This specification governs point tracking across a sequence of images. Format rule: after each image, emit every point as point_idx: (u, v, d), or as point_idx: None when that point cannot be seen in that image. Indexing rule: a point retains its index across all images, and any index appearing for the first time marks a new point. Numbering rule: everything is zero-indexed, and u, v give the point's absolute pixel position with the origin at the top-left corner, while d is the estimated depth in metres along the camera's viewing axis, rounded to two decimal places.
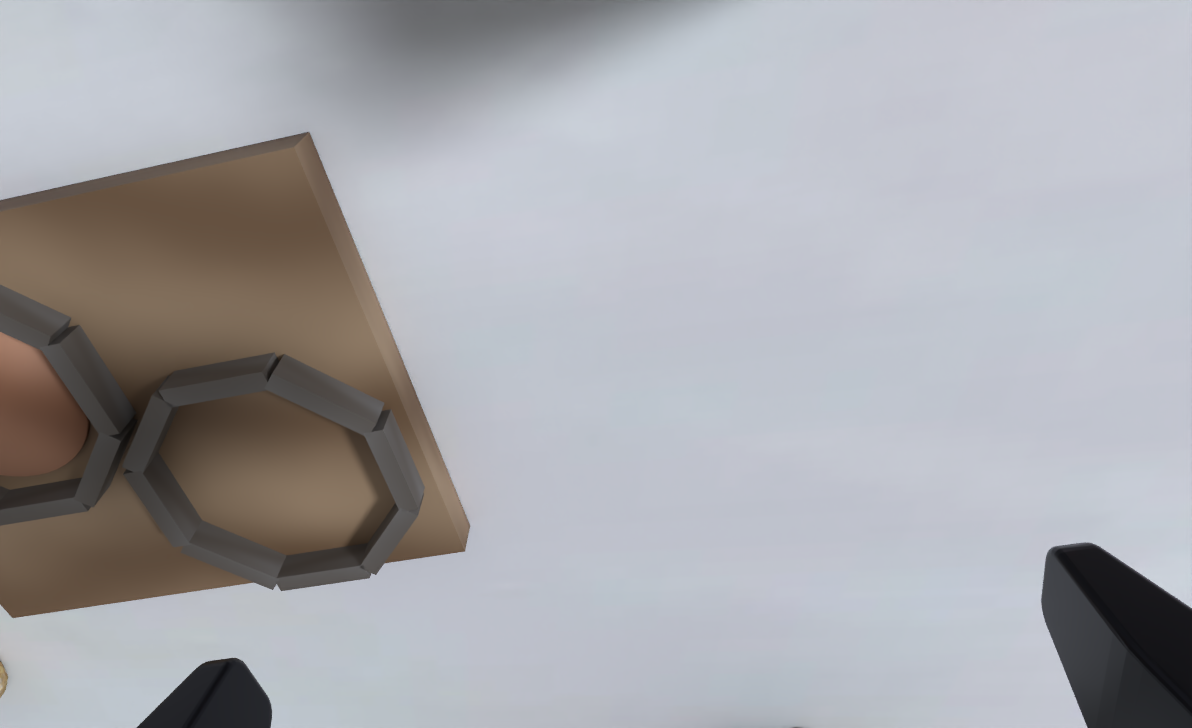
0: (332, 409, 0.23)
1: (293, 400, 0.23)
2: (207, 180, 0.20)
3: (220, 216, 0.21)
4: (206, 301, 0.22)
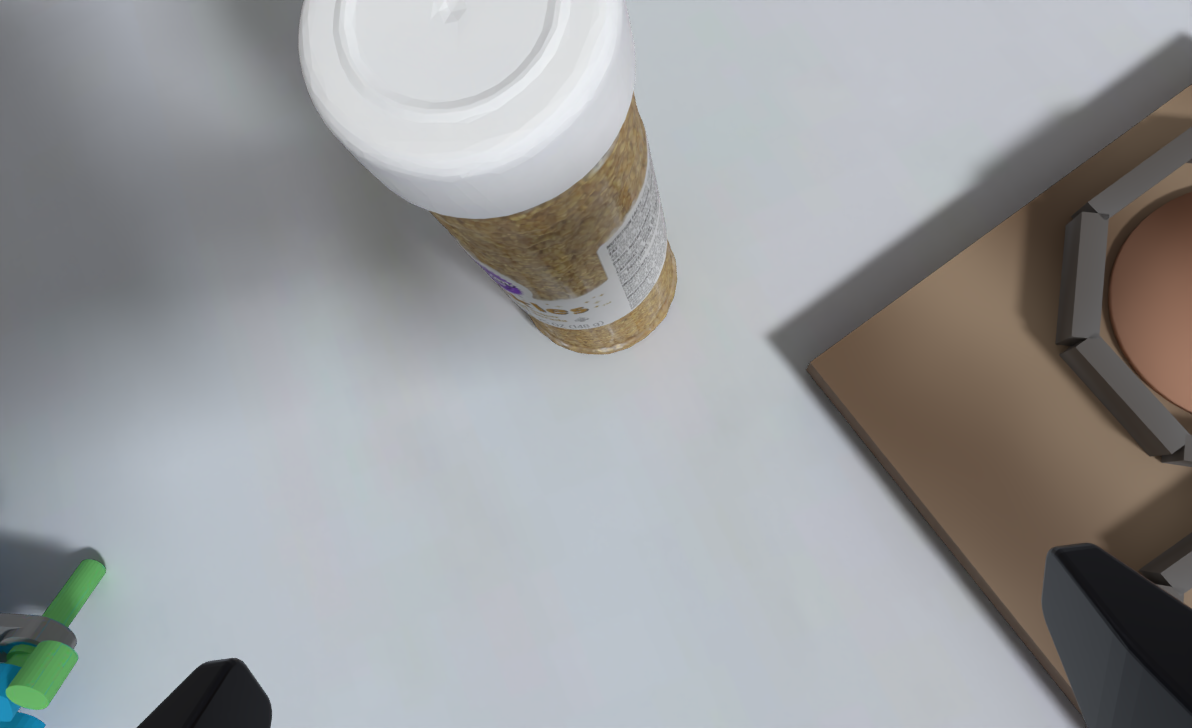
0: None
1: None
2: None
3: None
4: None
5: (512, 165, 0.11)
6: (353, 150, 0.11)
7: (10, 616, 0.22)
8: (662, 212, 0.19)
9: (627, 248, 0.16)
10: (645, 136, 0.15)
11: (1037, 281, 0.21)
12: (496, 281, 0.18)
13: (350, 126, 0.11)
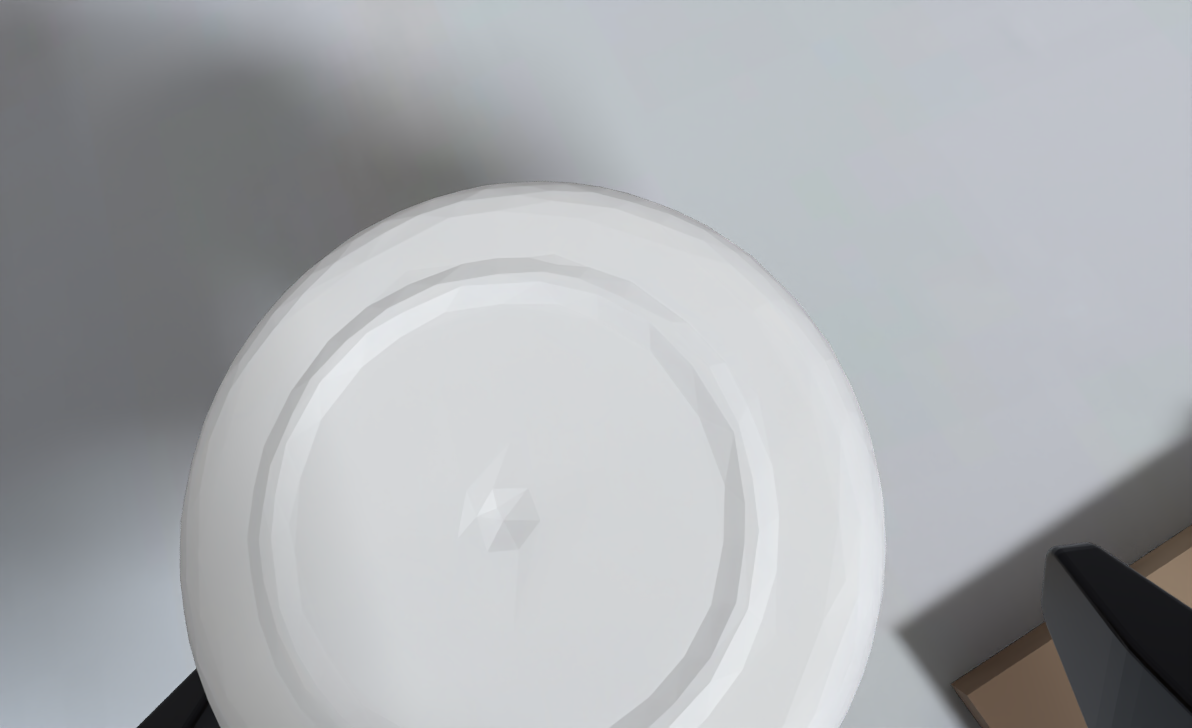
0: None
1: None
2: None
3: None
4: None
5: None
6: None
7: None
8: None
9: None
10: None
11: None
12: None
13: None
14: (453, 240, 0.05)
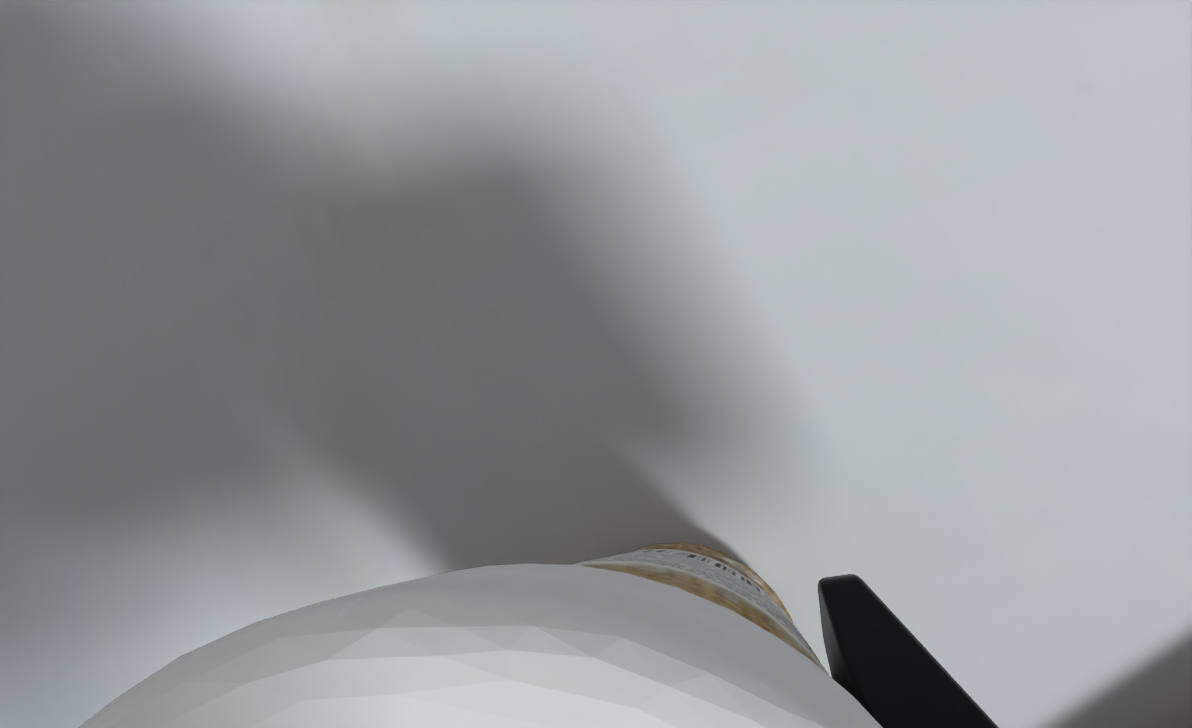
0: None
1: None
2: None
3: None
4: None
5: None
6: None
7: None
8: None
9: None
10: None
11: None
12: None
13: None
14: None
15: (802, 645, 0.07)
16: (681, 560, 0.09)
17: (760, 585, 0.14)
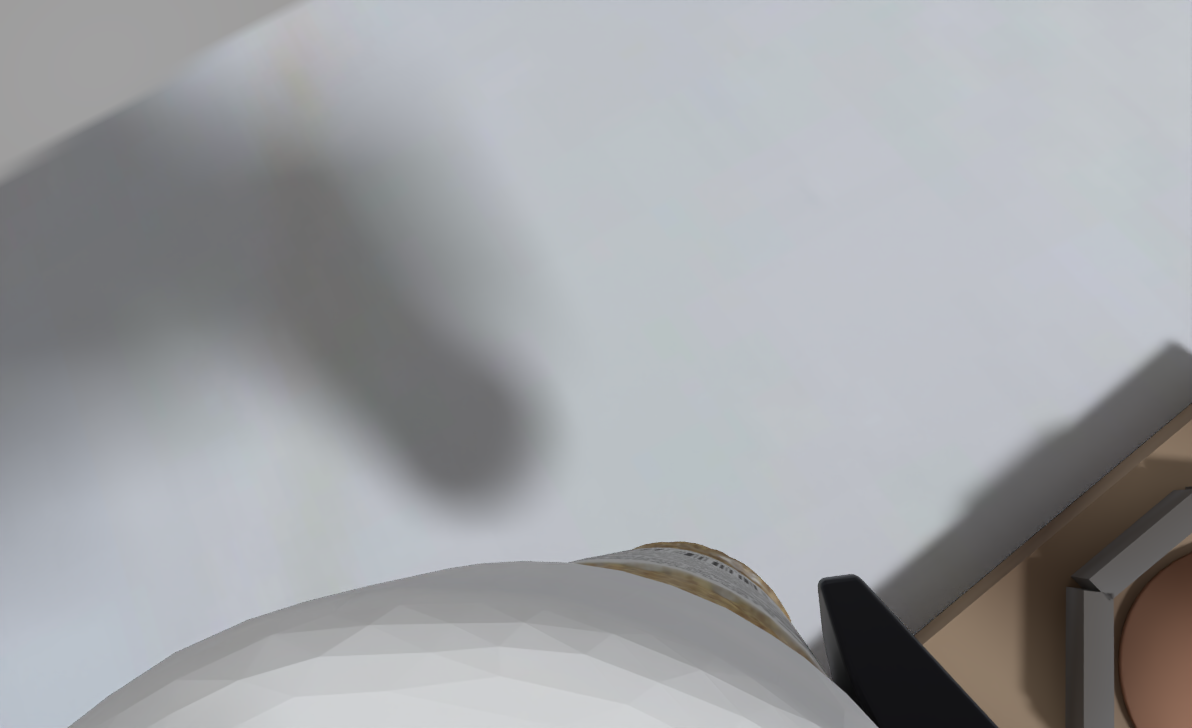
0: None
1: None
2: None
3: None
4: None
5: None
6: None
7: None
8: None
9: None
10: None
11: (1040, 652, 0.19)
12: None
13: None
14: None
15: (798, 643, 0.07)
16: (678, 558, 0.09)
17: (758, 583, 0.14)
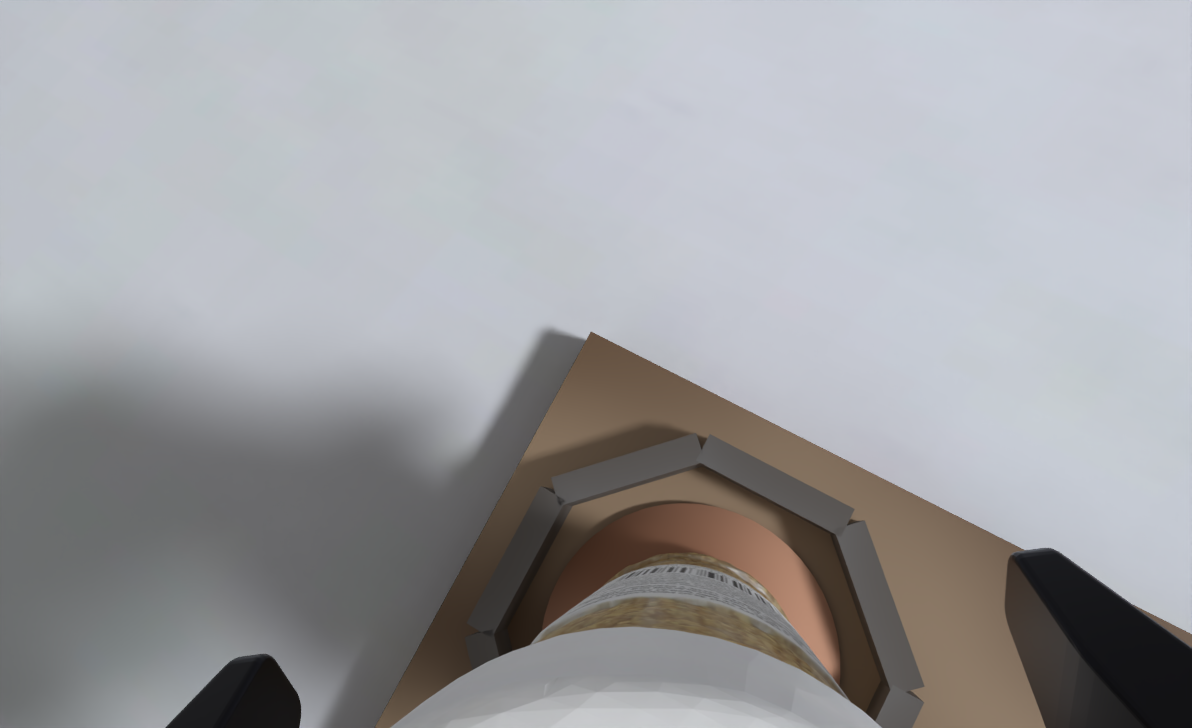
0: None
1: None
2: None
3: None
4: None
5: None
6: None
7: None
8: None
9: None
10: None
11: None
12: None
13: None
14: None
15: (825, 670, 0.08)
16: (709, 585, 0.10)
17: (763, 593, 0.16)
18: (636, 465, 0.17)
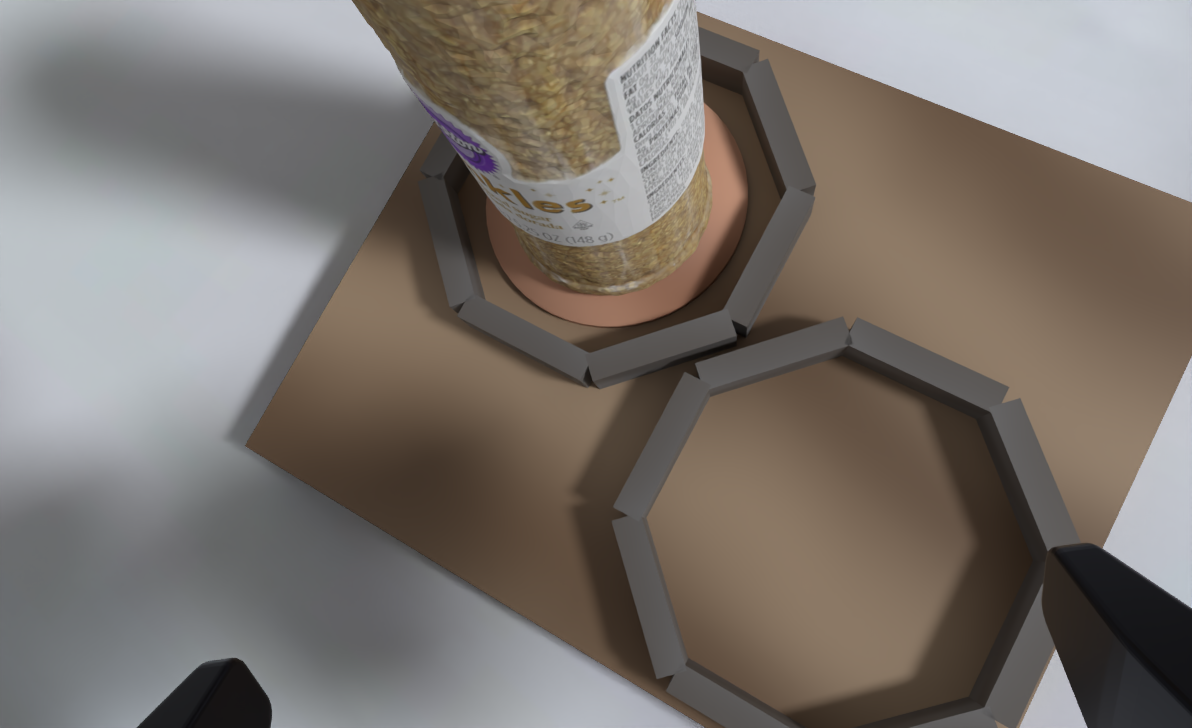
0: (1047, 496, 0.15)
1: (1007, 448, 0.16)
2: (1121, 191, 0.17)
3: (1095, 229, 0.17)
4: (979, 290, 0.17)
5: None
6: None
7: None
8: None
9: (650, 97, 0.11)
10: None
11: (426, 263, 0.19)
12: (463, 156, 0.13)
13: None
14: None
15: None
16: None
17: None
18: None
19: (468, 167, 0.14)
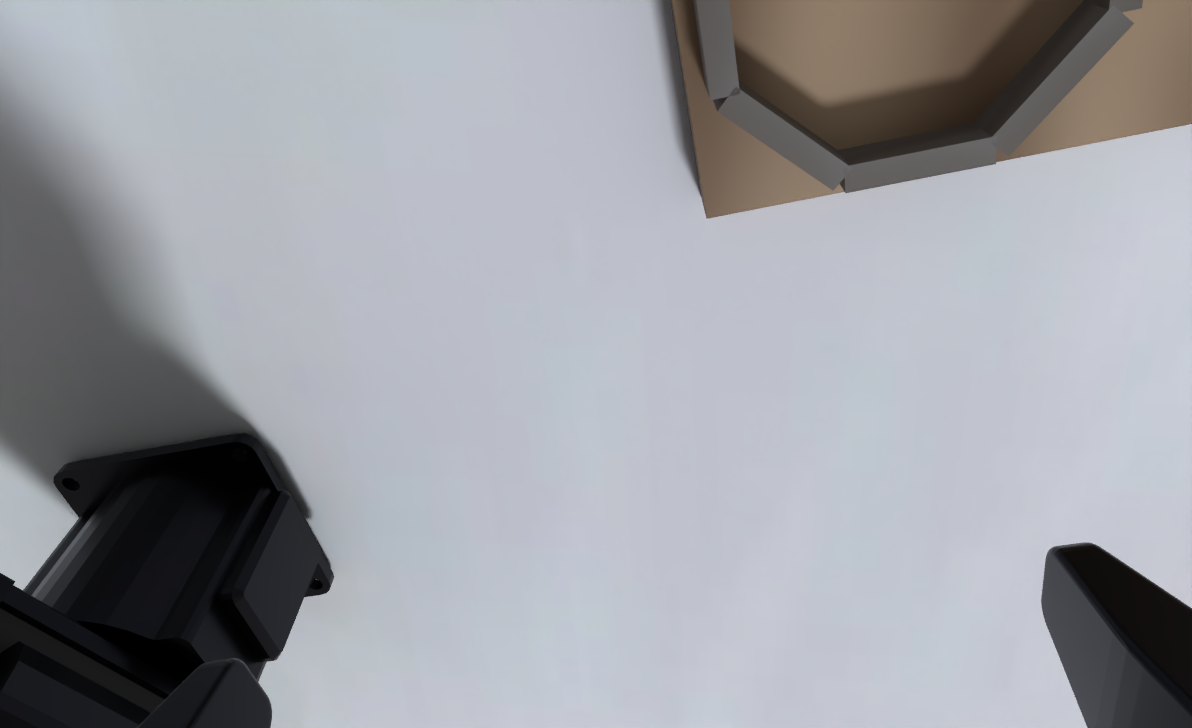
0: (1048, 100, 0.16)
1: (1078, 44, 0.16)
2: None
3: None
4: None
5: None
6: None
7: None
8: None
9: None
10: None
11: None
12: None
13: None
14: None
15: None
16: None
17: None
18: None
19: None
